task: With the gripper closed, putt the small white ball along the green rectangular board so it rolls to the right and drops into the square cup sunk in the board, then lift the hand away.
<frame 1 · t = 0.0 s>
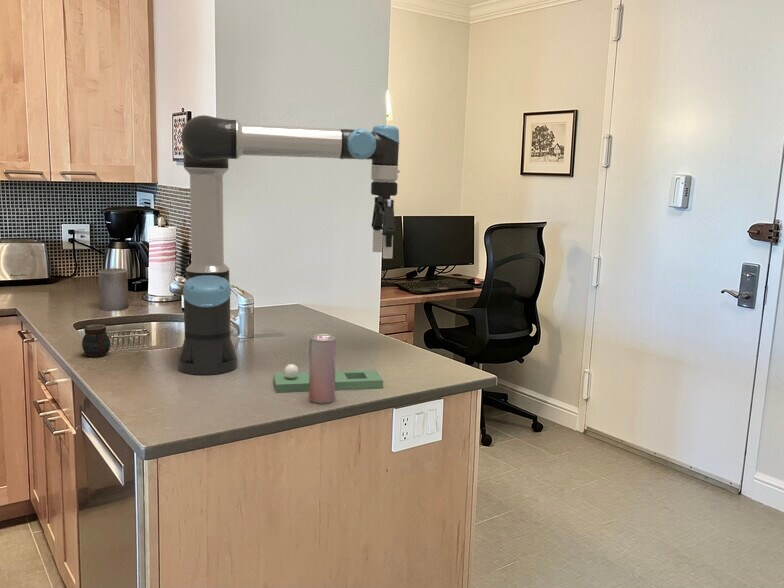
hand: (382, 255, 204), 28 cm above the worktop, fingers open, 13 cm apart
beverage can: (321, 400, 162), on the worktop
pillar candle: (114, 308, 251), on the worktop
white ball: (291, 371, 171), point 4 cm above the worktop, touching green rectangular board
mate gourd: (96, 355, 192), on the worktop
green rectangular board: (327, 384, 173), on the worktop
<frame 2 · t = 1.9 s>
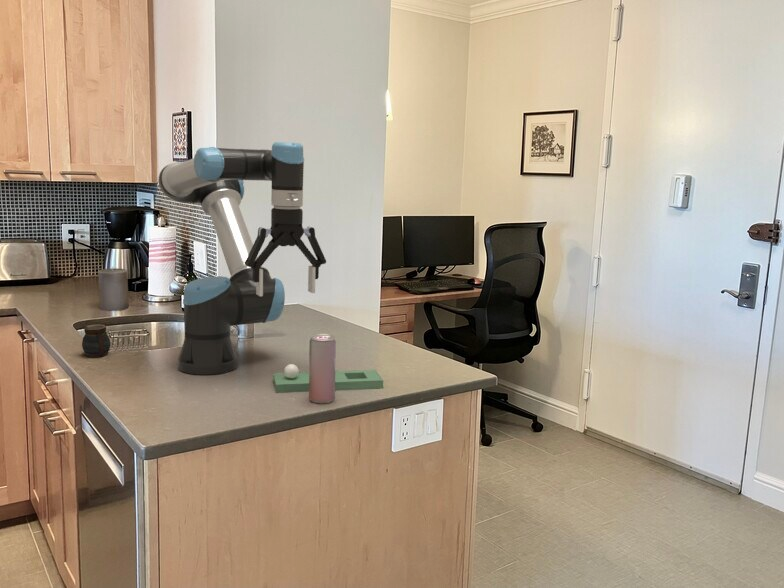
hand: (286, 293, 173), 22 cm above the worktop, fingers open, 13 cm apart
nothing on the worktop moved.
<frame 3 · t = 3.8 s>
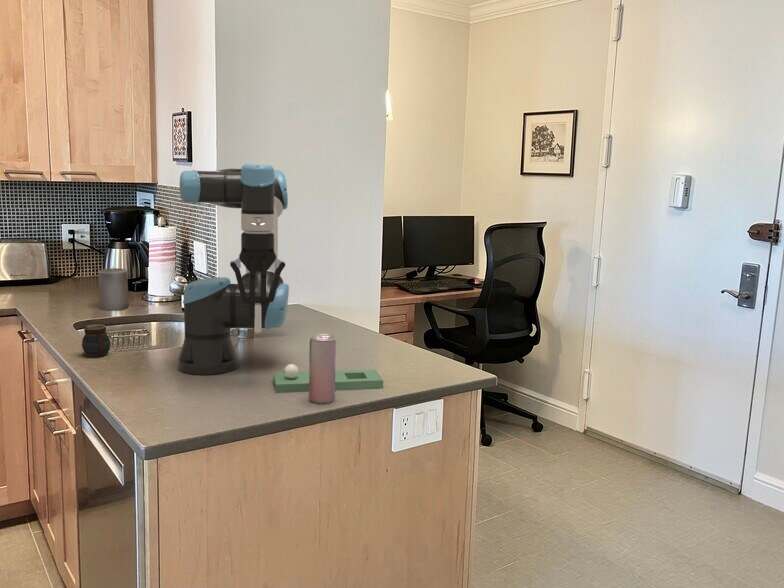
hand: (257, 330, 166), 14 cm above the worktop, fingers closed
nothing on the worktop moved.
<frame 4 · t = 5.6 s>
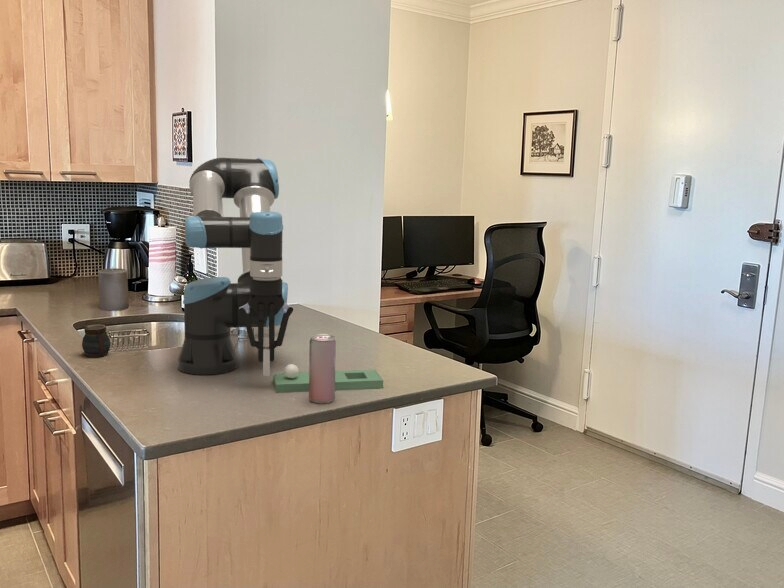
hand: (266, 374, 169), 3 cm above the worktop, fingers closed
nothing on the worktop moved.
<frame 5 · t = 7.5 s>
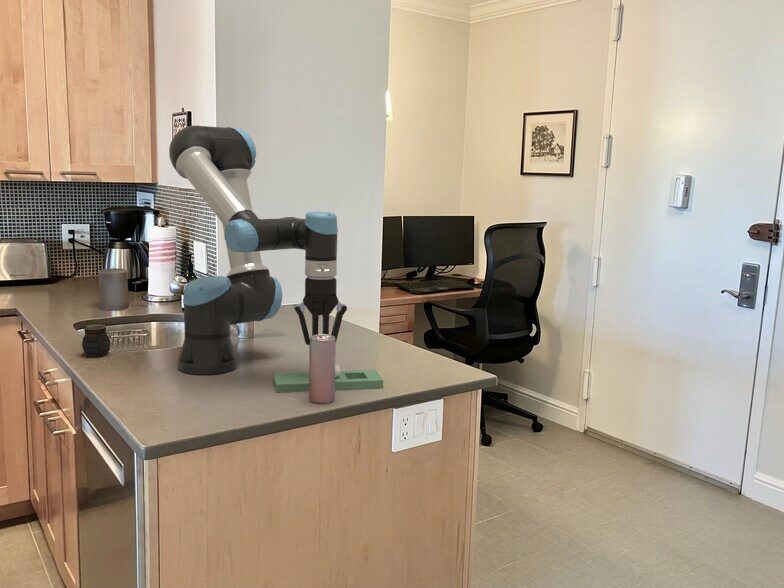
hand: (320, 371, 172), 3 cm above the worktop, fingers closed
white ball: (333, 370, 172), point 4 cm above the worktop, tilted 25°, touching green rectangular board
everything else where it was.
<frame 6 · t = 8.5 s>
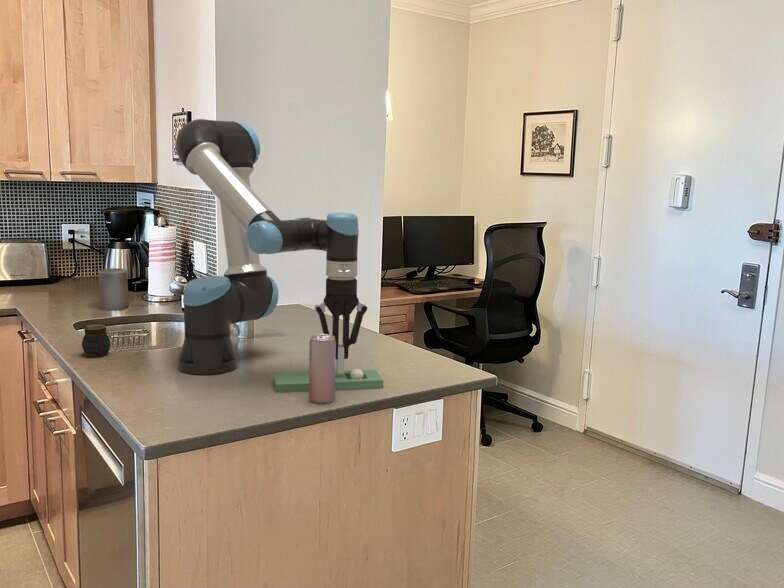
hand: (339, 371, 173), 3 cm above the worktop, fingers closed
white ball: (357, 375, 175), point 2 cm above the worktop, tilted 106°
everything else where it was.
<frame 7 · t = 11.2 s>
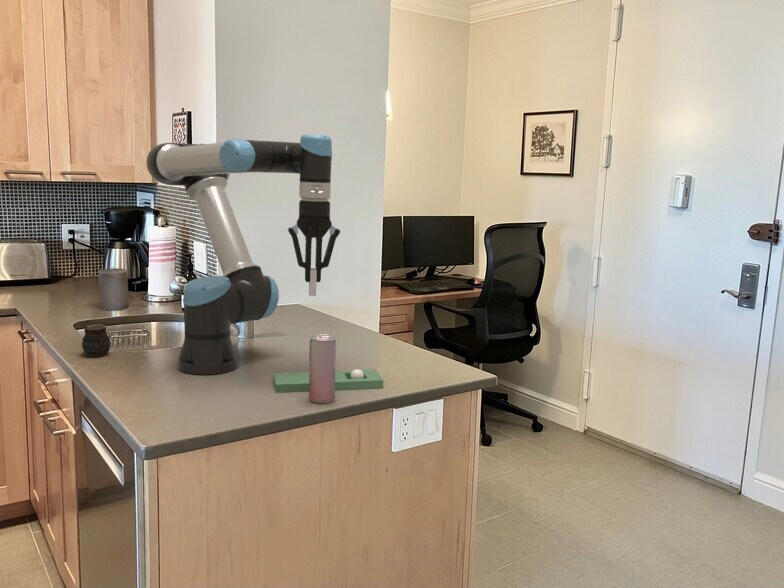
hand: (312, 294, 175), 21 cm above the worktop, fingers closed
white ball: (357, 376, 175), point 2 cm above the worktop, tilted 117°
everything else where it was.
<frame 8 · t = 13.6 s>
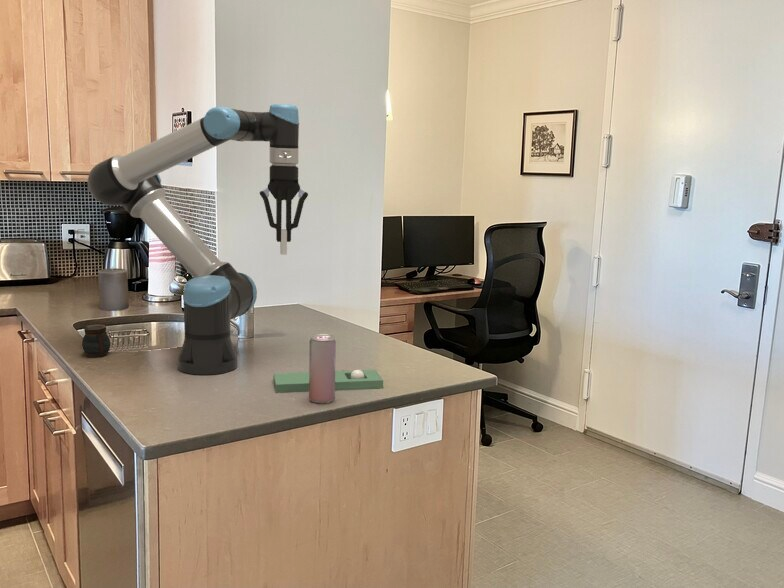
hand: (283, 253, 189), 29 cm above the worktop, fingers closed
white ball: (357, 376, 175), point 2 cm above the worktop, tilted 127°
everything else where it was.
at the end: white ball 0.4 cm from the target spot on the green rectangular board, point 1.7 cm above the green rectangular board's base; white ball touching worktop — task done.
